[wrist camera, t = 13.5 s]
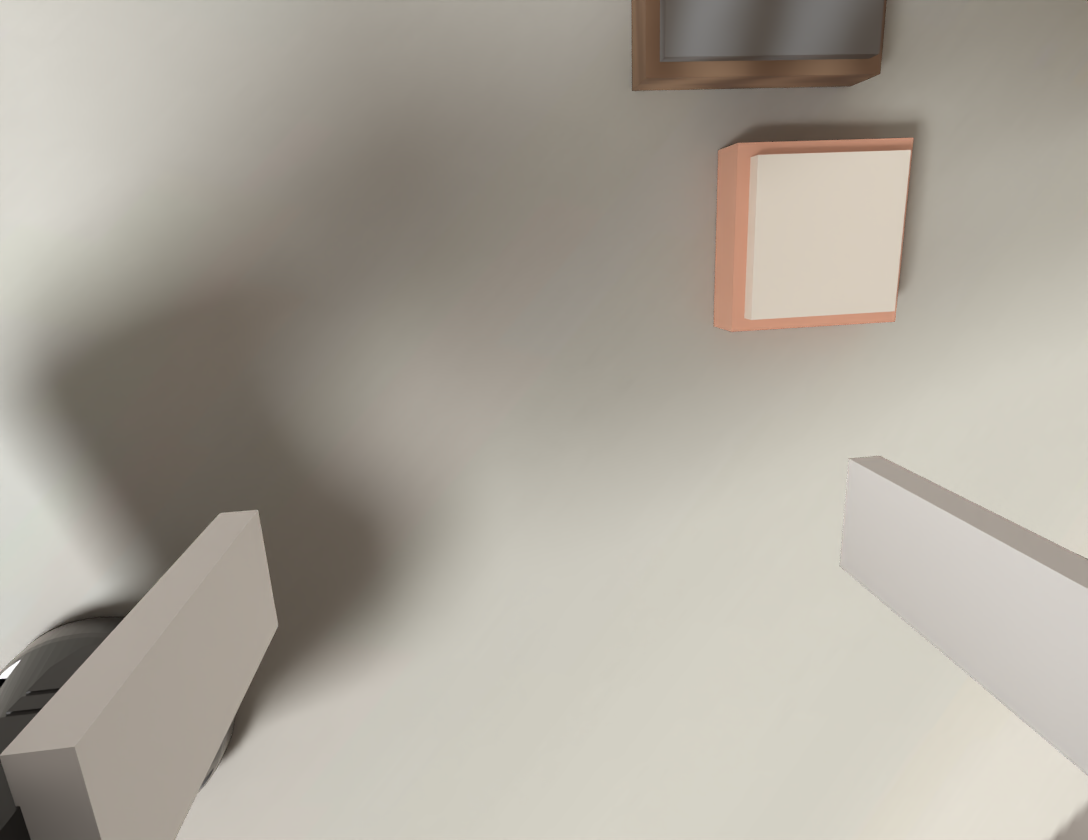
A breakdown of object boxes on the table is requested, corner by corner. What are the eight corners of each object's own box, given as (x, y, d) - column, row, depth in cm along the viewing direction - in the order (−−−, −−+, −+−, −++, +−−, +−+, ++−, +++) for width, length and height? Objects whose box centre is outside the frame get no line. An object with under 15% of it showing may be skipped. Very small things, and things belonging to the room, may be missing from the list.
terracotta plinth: (713, 326, 43) (738, 333, 39) (718, 150, 40) (745, 140, 36) (866, 316, 44) (905, 323, 40) (882, 145, 41) (925, 135, 38)
